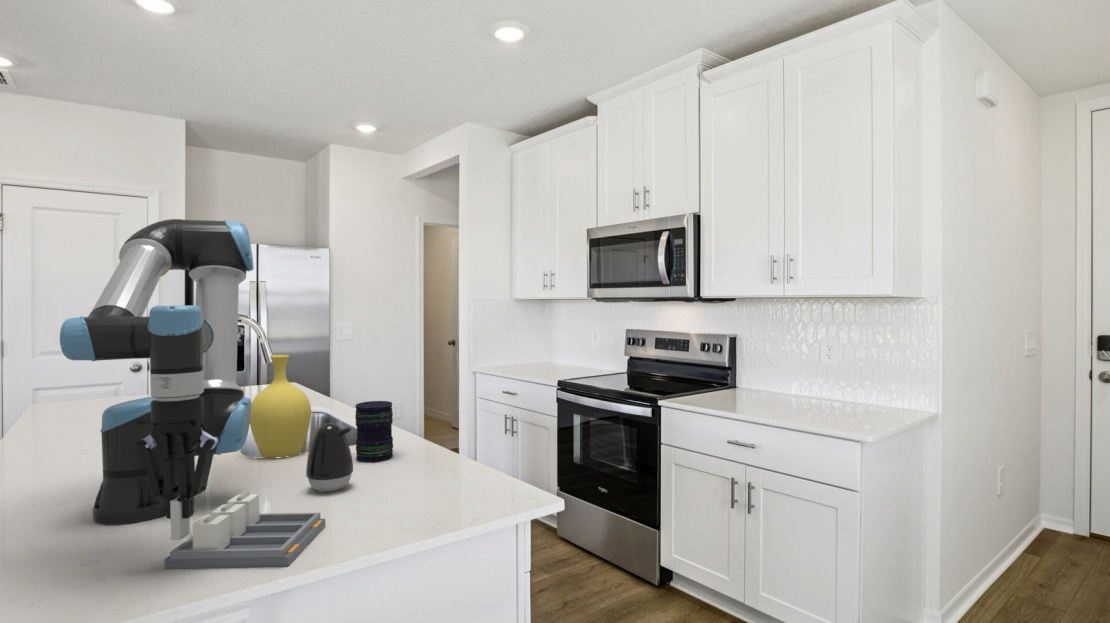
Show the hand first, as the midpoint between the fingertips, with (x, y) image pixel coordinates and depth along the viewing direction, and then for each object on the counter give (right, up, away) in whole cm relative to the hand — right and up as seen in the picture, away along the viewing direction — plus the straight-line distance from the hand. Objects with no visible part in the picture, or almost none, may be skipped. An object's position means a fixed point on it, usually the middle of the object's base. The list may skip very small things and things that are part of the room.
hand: (180, 536), depth 100 cm
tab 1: (+5, -2, 0) cm, 5 cm away
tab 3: (+5, -2, +11) cm, 12 cm away
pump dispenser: (+11, -3, +37) cm, 39 cm away
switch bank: (+9, -4, +6) cm, 11 cm away
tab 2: (+5, -2, +6) cm, 8 cm away
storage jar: (+13, -3, +64) cm, 65 cm away
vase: (-15, -3, +69) cm, 70 cm away
